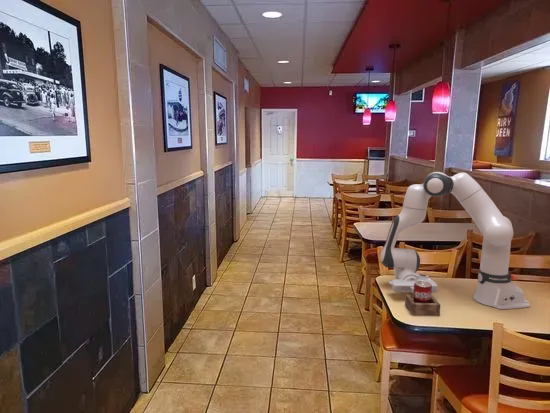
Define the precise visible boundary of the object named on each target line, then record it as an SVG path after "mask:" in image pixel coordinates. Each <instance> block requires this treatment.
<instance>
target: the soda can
mask: <svg viewBox="0 0 550 413" xmlns="http://www.w3.org/2000/svg"><path fill="white" fill-rule="evenodd" d="M412 294H413V295H412V299H413V301H414V302H415V303H431V295H432V285H431V284H430V283H429V282H425V281H417V282H415V283H414V293H412Z"/></svg>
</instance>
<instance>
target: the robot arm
mask: <svg viewBox="0 0 550 413" xmlns="http://www.w3.org/2000/svg"><path fill="white" fill-rule="evenodd" d="M448 194H452V195H453V196H454V197H455V198H456V200H457V201H458V202H459V204H460V205H461V207H463V209H464V210H465V211H466V212H467V214H468V215H469V216H470V218H471V219H472V221H473V223H474V224H475V225H476V227H477V229H478V230H479V232H480V233H481V234H482V236H483V238H482V245H481V246H482V247H481V255H480V266H479V269H478V275H477V285H476V289H475V292H474V294H473V296H472V299H474V300H475V301H476V302H477V303H480V304H482V305H485V306H487V307H488V306H490V307H492V308H496V309H498V310H511V309H522V308H523V309H524V308H530V307H531V306H530V305H531V304H530V302H529V301H528V300H527V299H526V298H525V293H524V291H523V289H522V288H521V287H520V286H519V285H517V284H516V283H515V282H514V281H516V280H517V275H515V274H512V273H510V272H509V268H510V258H511V246H512V245H511V244H512V243H511V242H512V240H513V238H514V228H513V225H512V224H513V223H512V221H511V220H510V219H509V218H508V217H506V216H504V215H503V214H502V212H501V211H500V210H499V208H498V207H497V206H496V204H495V202H494V201H493V199H491V197H490V196H489V195H488V194H487V192H486V191H485V190H484V189H483V187H482V186H481V185H480V184H479V183H478V182H477V181H476V180H475V179H474V178H473V177H472V176H471V175H470V174H468V173H467V172H458V173H456V174H454V175H453V176H452V175H451V176H449V175H448V174H447V173H445V172H443V171H434V172H431V173H429V174H428V175H427V176H426V177H425V178H424V179H423V183H420V184H417V183H415V184H411V185H409V186H408V187H407V189H406V192H405V195H404V198H403V202H402V208H401V211H400V213H399V214H398V215H396V216H394V218H393V219H392V222H391V225H390V227H389V231H388V233H387V237H386V240H385V243H384V245H383V248H382V249H381V252H380V256H379V257H380V259H379V260H380V263H381V265H383V266H384V267H385V268H386V269H387V268H388V269H389V268H392V269H393V275H394V277H395V279H392V280H390V281H388V284H389V285H390V286H391V290H392V292H394V293H412V294H413V293H414V283H415V282H417V281H425V282H429V283H430V284H431V285H432V293H433V294H435V293H438V288H439V286H438V283H436V282H435V281H434V280H433V279H432V278H430V276H429V275H427V274H421V273H417V272H418V270H419V268H420V266H421V257H420V254H419V253H418V252H417V250H416V249H412V248H401V247H400V248H399V247H395V245H396V243H397V240H398V236H399V234H400V233H401V232H402V231H403V230H406V229H408V228H411V227H415V226H418V225H420V224H421V223H422V222H424V220H425V219H426V216H427V213H428V212H427V211H428V203H429V199H431V197H441V196H444V195H448ZM512 280H513V281H512Z"/></svg>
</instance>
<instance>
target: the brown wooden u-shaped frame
mask: <svg viewBox="0 0 550 413" xmlns="http://www.w3.org/2000/svg"><path fill="white" fill-rule="evenodd" d="M404 296H405V297H404V306H405V307H406V308H405V309H407V311H408V312H409V314H410V315H411V316H416V317H417V316H422V317H423V316H424V317H425V316H427V317H431V316H432V317H433V316H435V317H440V315H441V303H440V302H439V301H438V300H437V299H436V298H435V297H434V296H433V295H432V294H431V303H415V302H414V301H413V297H411V295H410V294H405V295H404Z"/></svg>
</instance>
